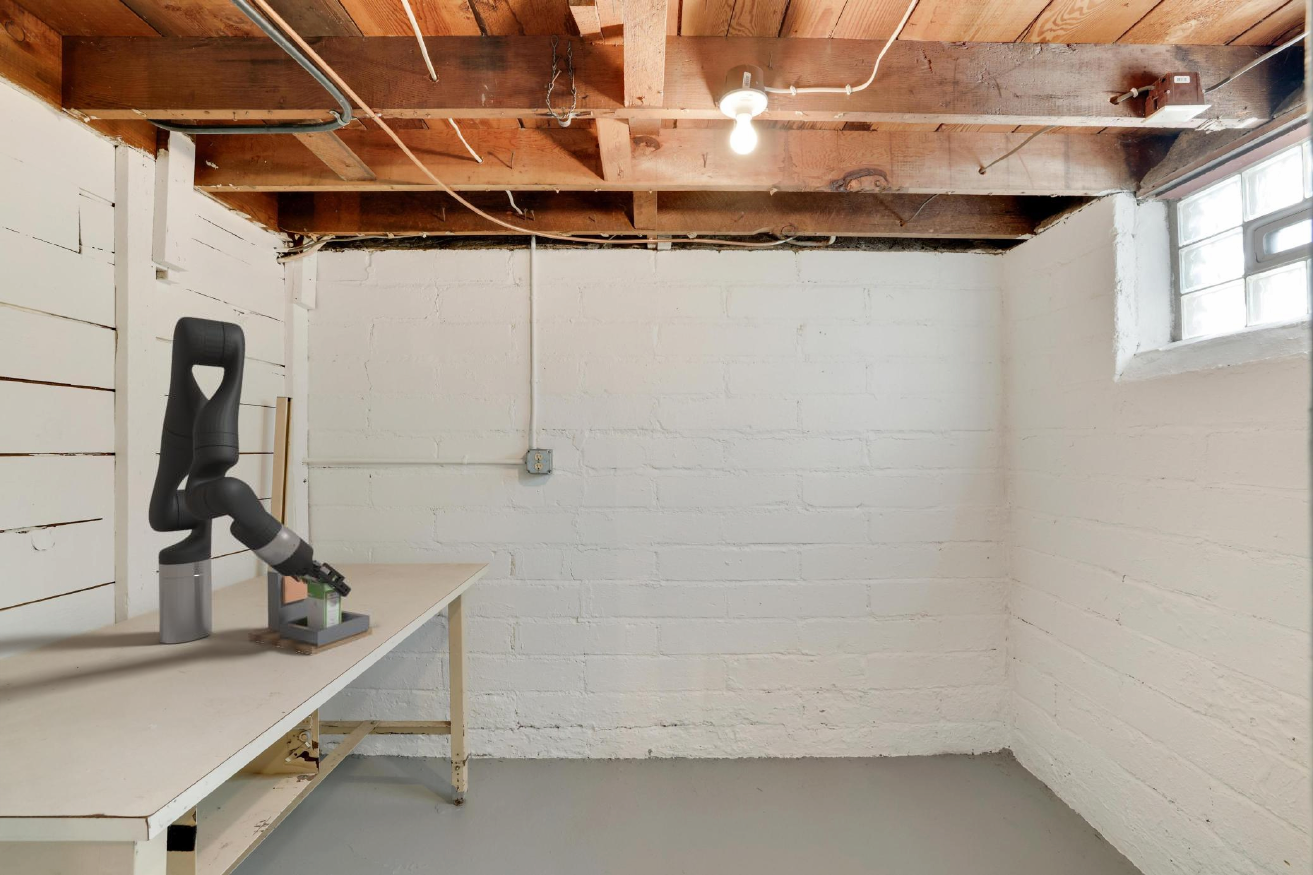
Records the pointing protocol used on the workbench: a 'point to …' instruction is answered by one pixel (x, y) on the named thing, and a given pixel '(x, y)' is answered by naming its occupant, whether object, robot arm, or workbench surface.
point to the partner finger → (285, 599)
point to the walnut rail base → (274, 639)
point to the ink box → (322, 606)
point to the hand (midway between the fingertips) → (335, 591)
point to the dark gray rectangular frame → (315, 637)
